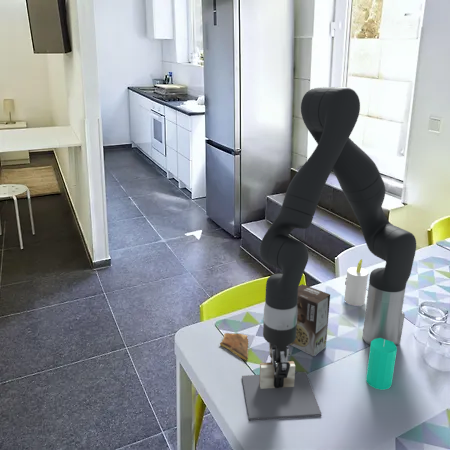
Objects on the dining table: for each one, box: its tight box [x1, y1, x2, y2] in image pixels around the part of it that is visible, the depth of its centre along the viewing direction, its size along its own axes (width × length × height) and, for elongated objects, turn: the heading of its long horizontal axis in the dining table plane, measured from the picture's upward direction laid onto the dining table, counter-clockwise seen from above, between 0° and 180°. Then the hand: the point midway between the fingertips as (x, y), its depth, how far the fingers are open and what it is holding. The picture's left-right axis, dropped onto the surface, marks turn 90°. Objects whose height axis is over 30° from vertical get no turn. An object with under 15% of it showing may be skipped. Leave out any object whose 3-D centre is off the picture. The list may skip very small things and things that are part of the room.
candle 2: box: [365, 338, 398, 391], centre depth 111 cm, size 6×6×12 cm
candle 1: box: [343, 259, 369, 307], centre depth 146 cm, size 6×6×15 cm
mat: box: [241, 371, 322, 421], centre depth 108 cm, size 16×14×1 cm
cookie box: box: [290, 283, 331, 357], centre depth 124 cm, size 9×6×16 cm
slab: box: [259, 360, 296, 389], centre depth 110 cm, size 8×2×6 cm, turn 94°
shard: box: [219, 332, 249, 361], centre depth 125 cm, size 11×8×2 cm
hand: (277, 381), depth 110 cm, fingers open, 2 cm apart
